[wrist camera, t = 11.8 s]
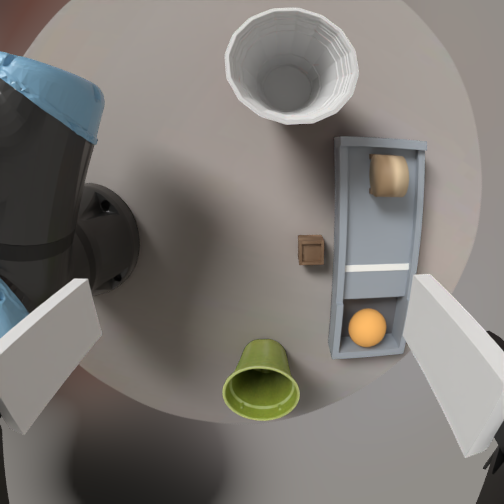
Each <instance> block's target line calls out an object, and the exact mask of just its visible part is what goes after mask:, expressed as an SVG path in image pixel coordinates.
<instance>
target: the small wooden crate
mask: <svg viewBox="0 0 504 504" xmlns="http://www.w3.org/2000/svg"><path fill="white" fill-rule="evenodd" d="M298 259H299V265H324V240H323V237H322V235H298Z"/></svg>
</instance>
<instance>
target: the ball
mask: <svg viewBox="0 0 504 504" xmlns="http://www.w3.org/2000/svg"><path fill="white" fill-rule="evenodd" d="M348 330H349V335H350V337H351V339H352V340H353V341H354V343H356V344H357V345H359V346H362V347H371V346H374V345H376V344H378V343H379V342H380V341H381V340H382V339H383V337H384V335H385V333H386V321H385V319H384V317H383V316H382V314H381V313H380V312H378V311H377V310H374V309H369V308H367V309H362V310H360V311H358V312H356V313H355V314H354V315H353V317H352V318H351V320H350V322H349V328H348Z"/></svg>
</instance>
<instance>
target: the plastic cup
mask: <svg viewBox="0 0 504 504" xmlns="http://www.w3.org/2000/svg"><path fill="white" fill-rule="evenodd" d="M225 67H226V78H227V80H228V82H229V84H230V85H231V87H232V89H233V91H234V92H235V94H236V96H237V98H238V100H239V101H241V102H242V103H243V104H245V105H246V106H247V107H248V108H250V109H251V110H252V111H254V112H255V113H256V114H257V115H259V116H260V117H263V118H267V119H270V120H273V121H276V122H279V123H282V124H286V125H290V124H312V123H315V122H318V121H320V120H322V119H324V118H327V117H329V116H331V115H333V114H336V113H337V112H338V111H339V110H340V109H341V108H342V107H343V106H344V104H345V103H346V102H347V101H348V100H349V99H350V98H351V97H352V96H353V93H354V89H355V86H356V82H357V79H358V76H359V69H358V63H357V57H356V51H355V49H354V48H353V46H352V44H351V43H350V41H349V40H348V38H347V36H346V35H345V33H344V32H343V30H341V29H340V28H339V27H337V26H336V25H335V24H334V23H332V22H331V21H329V20H328V19H327V18H325V17H324V16H323V15H320V14H317V13H314V12H310V11H307V10H304V9H301V8H273V9H270V10H267V11H265V12H262V13H260V14H257V15H255V16H252V17H250V18H249V19H248V20H247V21H246V22H245V23H244V24H242V25H241V26H240V27H239V28H238V29H237V30H236V31H235V32H234V33H233V35H232V37H231V40H230V42H229V45H228V47H227V50H226V53H225Z"/></svg>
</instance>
